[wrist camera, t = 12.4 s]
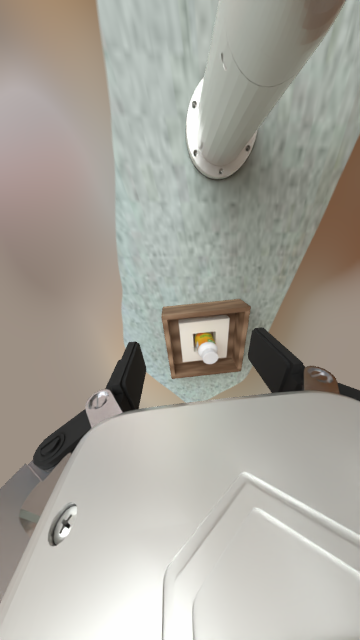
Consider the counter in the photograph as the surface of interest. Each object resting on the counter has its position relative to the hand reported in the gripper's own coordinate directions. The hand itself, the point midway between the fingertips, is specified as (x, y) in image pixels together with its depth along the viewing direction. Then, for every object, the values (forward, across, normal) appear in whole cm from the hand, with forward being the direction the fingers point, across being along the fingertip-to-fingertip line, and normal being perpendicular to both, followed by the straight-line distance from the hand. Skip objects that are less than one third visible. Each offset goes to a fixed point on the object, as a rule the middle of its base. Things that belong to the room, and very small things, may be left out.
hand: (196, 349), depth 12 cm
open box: (+28, -6, +18) cm, 34 cm away
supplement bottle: (+27, -6, +18) cm, 33 cm away
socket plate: (+28, -6, +18) cm, 34 cm away
